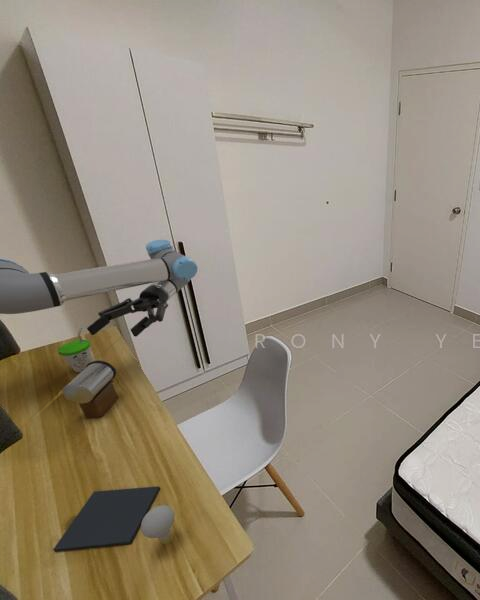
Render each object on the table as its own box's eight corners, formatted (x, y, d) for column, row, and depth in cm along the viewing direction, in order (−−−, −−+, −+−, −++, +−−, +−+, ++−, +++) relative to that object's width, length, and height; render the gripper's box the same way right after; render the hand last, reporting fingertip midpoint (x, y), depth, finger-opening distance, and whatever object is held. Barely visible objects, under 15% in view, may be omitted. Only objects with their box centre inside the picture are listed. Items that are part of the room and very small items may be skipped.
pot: (67, 404, 91) (56, 384, 88) (92, 380, 100) (83, 360, 96) (98, 403, 92) (88, 383, 89) (120, 379, 101) (111, 360, 97)
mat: (55, 552, 66) (52, 549, 66) (95, 493, 77) (93, 491, 76) (131, 544, 68) (129, 541, 68) (160, 488, 79) (159, 486, 78)
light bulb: (158, 561, 66) (143, 534, 61) (147, 542, 69) (132, 515, 64) (187, 538, 70) (175, 511, 65) (176, 521, 73) (163, 494, 68)
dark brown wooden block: (84, 418, 95) (74, 399, 92) (102, 398, 102) (93, 380, 99) (104, 417, 96) (94, 399, 93) (120, 397, 103) (112, 379, 100)
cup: (74, 381, 108) (54, 344, 101) (67, 371, 112) (48, 334, 105) (103, 370, 113) (87, 334, 106) (96, 360, 117) (80, 325, 110)
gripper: (195, 303, 118) (156, 343, 101) (129, 301, 119) (79, 340, 101) (187, 286, 114) (146, 324, 96) (119, 284, 115) (65, 321, 97)
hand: (111, 332), depth 99 cm, fingers open, 13 cm apart
